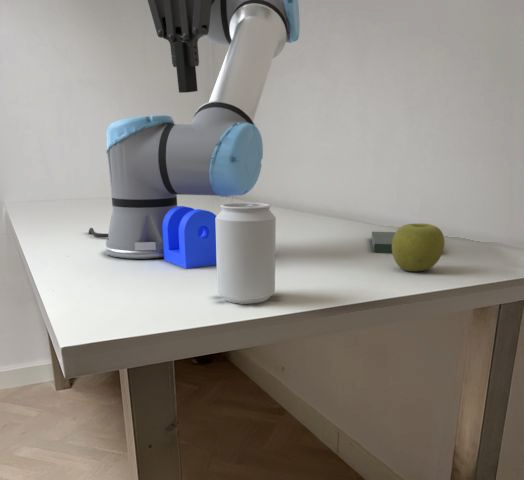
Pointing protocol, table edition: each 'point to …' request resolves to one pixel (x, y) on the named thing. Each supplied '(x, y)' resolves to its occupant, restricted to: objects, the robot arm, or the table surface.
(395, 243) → the apple
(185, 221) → the bracket
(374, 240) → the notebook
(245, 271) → the can
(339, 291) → the table surface
